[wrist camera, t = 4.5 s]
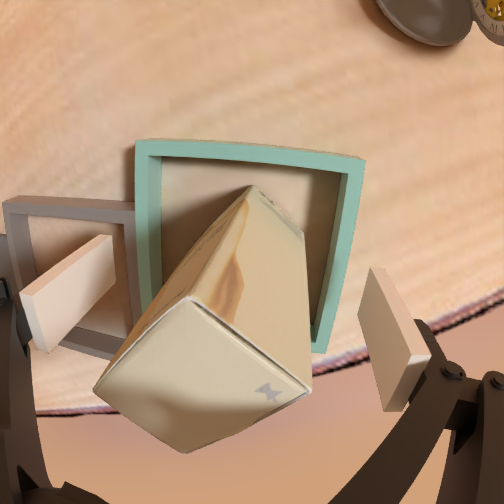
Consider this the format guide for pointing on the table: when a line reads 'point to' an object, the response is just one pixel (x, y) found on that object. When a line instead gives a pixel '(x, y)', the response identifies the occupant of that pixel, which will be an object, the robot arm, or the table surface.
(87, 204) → the grey frame
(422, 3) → the pocket watch
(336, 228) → the teal frame
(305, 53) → the table surface
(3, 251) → the slate mat
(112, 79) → the table surface
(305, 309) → the skincare box
